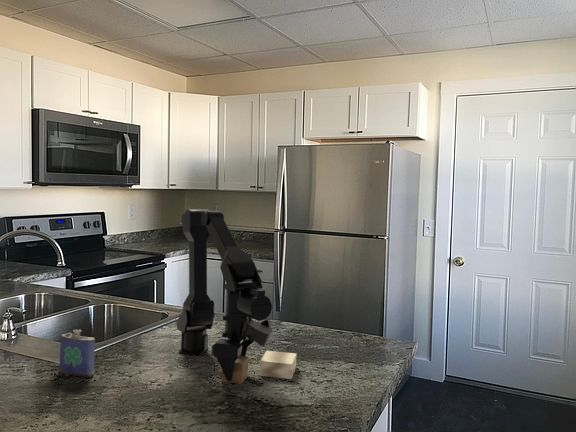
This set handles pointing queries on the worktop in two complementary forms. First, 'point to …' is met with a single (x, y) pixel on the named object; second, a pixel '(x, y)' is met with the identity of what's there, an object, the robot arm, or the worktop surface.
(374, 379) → the worktop surface
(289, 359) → the beech block
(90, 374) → the flask
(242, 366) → the walnut cube
